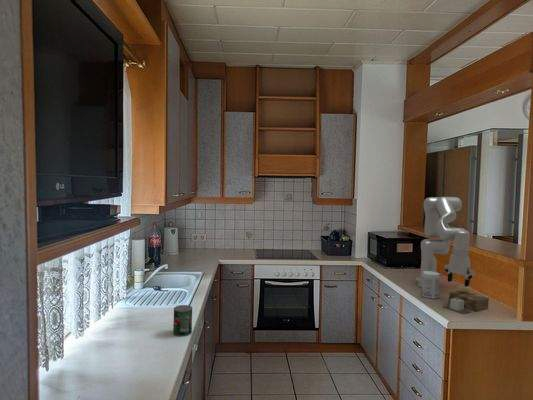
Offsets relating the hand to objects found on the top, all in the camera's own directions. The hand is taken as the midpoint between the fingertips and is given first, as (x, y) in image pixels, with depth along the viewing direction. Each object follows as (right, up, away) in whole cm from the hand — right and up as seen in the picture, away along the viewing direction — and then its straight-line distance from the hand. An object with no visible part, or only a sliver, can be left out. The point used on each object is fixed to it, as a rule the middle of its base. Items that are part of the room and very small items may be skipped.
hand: (458, 283), depth 216 cm
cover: (-1, -14, 0) cm, 14 cm away
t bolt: (+11, -8, +13) cm, 19 cm away
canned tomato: (-141, -12, -45) cm, 149 cm away
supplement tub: (-6, -13, +23) cm, 27 cm away
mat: (-1, -14, 0) cm, 14 cm away
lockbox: (+9, -14, +8) cm, 19 cm away
